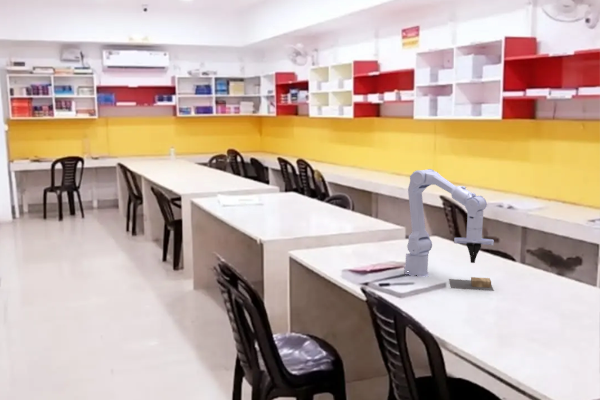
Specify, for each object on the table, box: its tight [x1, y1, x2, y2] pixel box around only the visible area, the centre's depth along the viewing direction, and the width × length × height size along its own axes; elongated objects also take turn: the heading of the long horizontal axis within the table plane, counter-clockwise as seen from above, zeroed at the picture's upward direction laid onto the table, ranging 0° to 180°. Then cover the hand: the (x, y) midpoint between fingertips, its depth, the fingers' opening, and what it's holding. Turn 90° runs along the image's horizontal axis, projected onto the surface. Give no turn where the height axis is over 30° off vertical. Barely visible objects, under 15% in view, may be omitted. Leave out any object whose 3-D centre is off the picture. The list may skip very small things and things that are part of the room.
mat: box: [448, 278, 495, 292], centre depth 238 cm, size 16×13×1 cm
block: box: [470, 276, 492, 288], centre depth 237 cm, size 2×5×7 cm
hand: (472, 262), depth 235 cm, fingers closed
